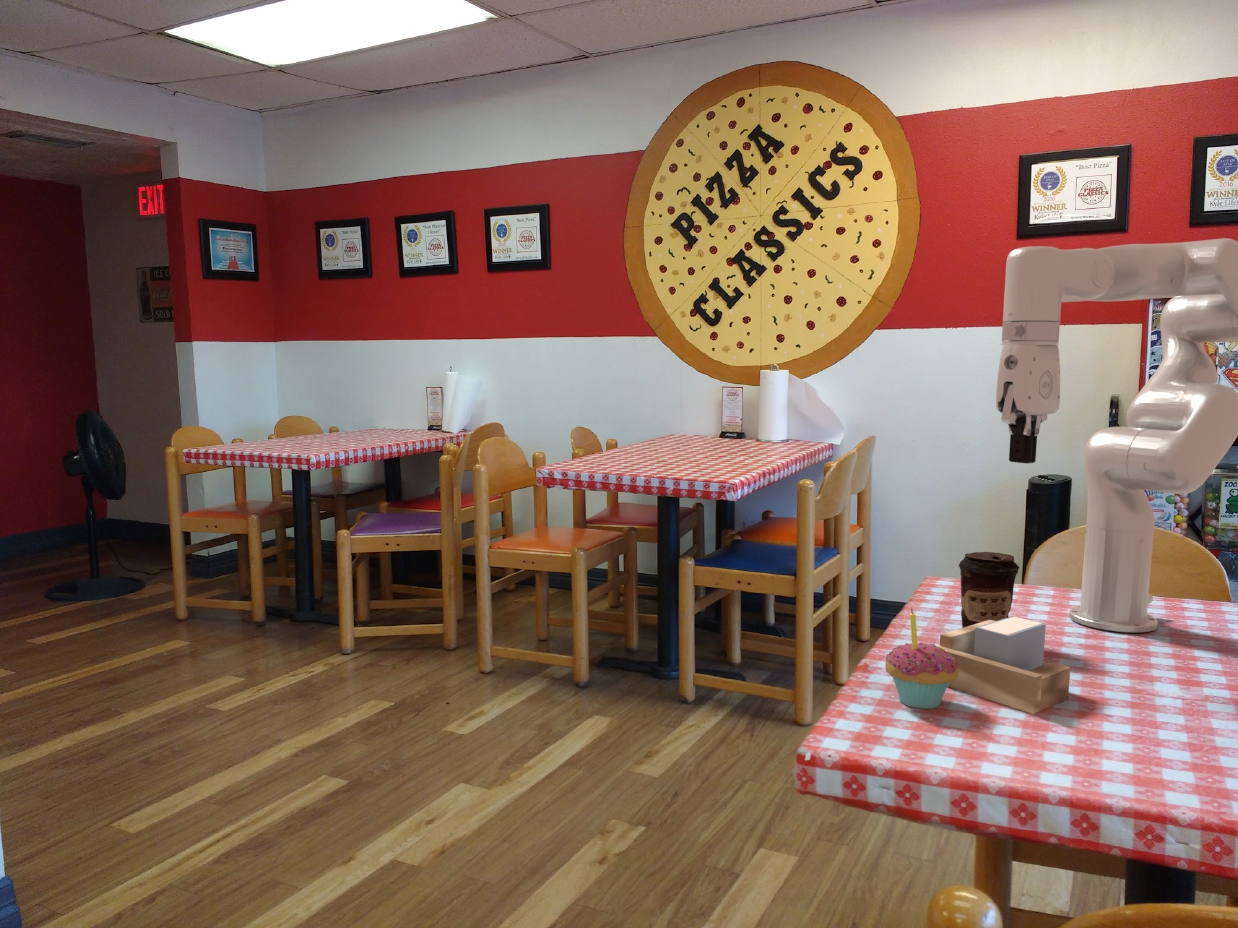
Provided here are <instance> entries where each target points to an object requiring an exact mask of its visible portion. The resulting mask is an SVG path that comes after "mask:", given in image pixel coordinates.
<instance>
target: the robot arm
mask: <svg viewBox="0 0 1238 928" xmlns="http://www.w3.org/2000/svg"><path fill="white" fill-rule="evenodd" d="M1005 263H1006V264H1005V277H1004V279H1005V280H1004V281H1005V282H1004V296H1003V312H1002V313H1003V316H1002V327H1001V328H1002V330H1001V331H1002V332H1001V344H1000V345H1001V346H1002V348H1001V352H1000V353H1001V354H1000V357H999V363H998V364H999V365H998V372H997V377H996V378H997V380H996V390H995V391H996V392H995V394H996V395H995V397H996V398H995V404H996V405H995V407H996V409H997V411H998V412H999V413H1001V422H1003V423H1005V424H1006V425H1008V434H1009V435H1010V437H1009V452H1008V461H1009V462H1011V463H1018V464H1034V463H1036V459H1037V444H1038V435H1039V434H1040V429H1041V423H1044V422H1046V421H1047V420H1048V415H1052V414H1056V412H1058V411H1059V409H1060V402H1061V401H1060V399H1061V362H1060V361H1061V360H1060V350H1059V341H1060V331H1061V330H1060V328H1061V315H1062V314H1061V310H1062V303H1072V302H1075V303H1076V302H1089V301H1090V302H1123V301H1124V302H1125V301H1139V300H1140V301H1141V300H1152V299H1165V298H1171V299H1169V300H1168V301H1167V302H1166V303H1165V305H1164V306H1163V308H1162V310H1161V314H1160V318H1159V319H1160V321H1159V325H1160V326H1159V327H1160V337H1161V338H1160V339H1161V347H1162V356H1161V357H1162V358H1161V359H1162V360H1161V362H1160V364H1159V365H1158V367H1157V369H1156V370H1155V372H1154V373H1153V374H1152V375H1151V376H1150V378H1149V379H1148V380H1147V382H1146V383H1145V384H1144V386H1143V387H1141V389H1140V391H1139V392H1138V393H1137V394H1136V396H1135V397H1134V399H1132V401H1131V403H1130V405H1129V406H1128V409H1127V412H1126V418H1125V419H1126V424H1127V426H1110V427H1105V428H1102V429H1099V430H1098V431H1096V432H1095V433H1093V434H1092V435H1091V436H1090V437H1089V439H1088V440H1087V442H1086V444H1085V447H1084V450H1083V451H1084V452H1083V453H1084V454H1083V463H1084V470H1085V476H1086V485H1087V506H1086V507H1087V509H1086V510H1087V511H1086V524H1085V538H1084V549H1083V550H1084V551H1083V552H1084V553H1083V563H1082V564H1083V565H1082V579H1081V592H1080V593H1081V594H1080V605H1075V606H1073V607H1071V608H1070V609H1069V611H1068V612H1069V613H1068V617H1069V618H1070V619H1071V620H1072V621H1074V622H1075V623H1077V624H1081V625H1083V626H1086V627H1089V628H1093V629H1098V630H1103V631H1109V632H1116V633H1117V632H1118V633H1119V632H1120V633H1128V634H1129V633H1133V634H1135V633H1139V634H1141V633H1149V632H1152V631H1155V630H1156V629H1158V624H1159V623H1158V620H1157V618H1155V617H1154V616H1153V615H1150V614H1148V608H1149V607H1148V606H1149V604H1151V603H1152V602H1153V600H1154V597H1153V595H1152V594H1151V593H1150V592H1149V591H1150V582H1151V570H1152V568H1151V566H1152V556H1153V543H1154V542H1153V541H1154V533H1155V532H1154V531H1155V524H1156V523H1155V522H1156V521H1155V514H1154V510H1153V505H1152V504H1151V502H1150V499H1149V498H1148V496H1147V494H1146V492H1145V491H1150V492H1156V493H1157V492H1158V493H1164V494H1173V495H1185V494H1191V493H1193V492H1194V491H1197V490H1198V489H1199V488H1200V487H1201V486H1203V484H1204V483H1205V482H1206V480H1208V478H1209V477H1210V476H1211V474H1212V473H1213V472H1214V470H1215V469H1216V467H1217V466H1218V465H1219V464H1220V462H1221V461H1222V460H1223V457H1224V456H1225V455H1226V454H1227V452H1228V451H1229V450H1230V448H1231V447H1232V445H1233V444H1234V442H1235V441H1236V439H1237V438H1238V391H1236V390H1235V389H1234V388H1232V387H1230V386H1228V385H1224V384H1219V383H1216V382H1217V379H1218V370H1217V368H1216V365H1215V363H1214V361H1213V360H1212V358H1211V356H1209V354H1208V353H1207V352H1206V350H1205V347H1204V343H1238V240H1235V239H1232V238H1226V237H1222V238H1216V239H1215V238H1213V239H1205V240H1196V241H1195V240H1194V241H1185V242H1184V241H1183V242H1166V243H1165V242H1164V243H1163V242H1162V243H1130V244H1121V245H1120V244H1119V245H1113V246H1112V245H1111V246H1107V247H1106V246H1105V247H1101V248H1092V247H1082V248H1074V249H1060V248H1058V247H1055V246H1044V245H1041V246H1040V245H1037V246H1024V247H1018V248H1015V249H1013V250H1011V251H1010V252H1009V253H1008V254H1007V258H1006V262H1005Z"/></svg>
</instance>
